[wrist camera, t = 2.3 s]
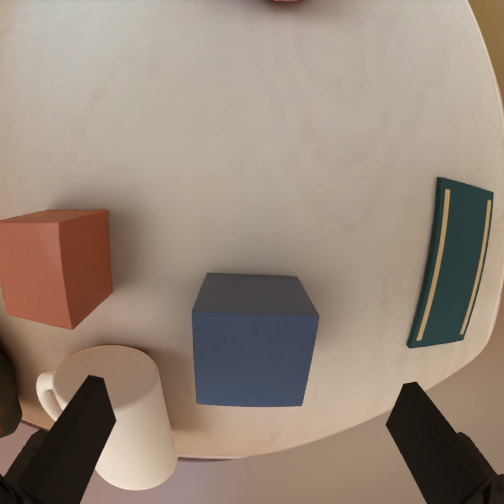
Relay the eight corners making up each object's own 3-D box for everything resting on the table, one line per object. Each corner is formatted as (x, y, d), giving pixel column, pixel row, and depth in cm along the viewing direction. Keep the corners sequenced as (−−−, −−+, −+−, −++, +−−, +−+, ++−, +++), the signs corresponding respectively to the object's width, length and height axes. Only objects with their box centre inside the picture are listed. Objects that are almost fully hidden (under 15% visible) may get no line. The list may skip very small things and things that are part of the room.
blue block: (206, 272, 19) (191, 311, 13) (297, 276, 19) (319, 315, 13) (207, 349, 20) (196, 404, 14) (288, 352, 20) (302, 406, 14)
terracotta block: (45, 210, 17) (-8, 222, 11) (108, 209, 17) (58, 221, 12) (52, 285, 19) (7, 314, 13) (113, 292, 19) (73, 330, 13)
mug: (169, 349, 20) (140, 423, 12) (183, 432, 22) (170, 499, 14) (47, 332, 20) (-4, 379, 12) (76, 412, 22) (46, 462, 14)
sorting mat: (437, 177, 18) (442, 177, 17) (489, 191, 18) (494, 192, 17) (406, 345, 21) (409, 349, 20) (459, 337, 21) (463, 340, 20)
